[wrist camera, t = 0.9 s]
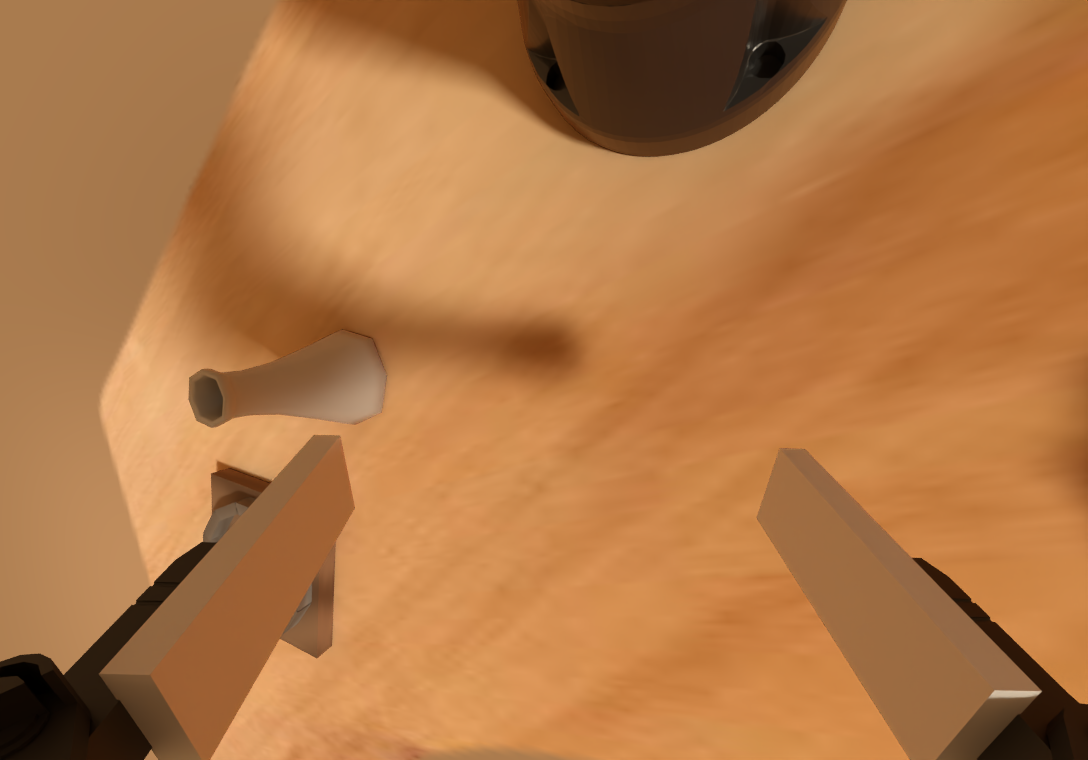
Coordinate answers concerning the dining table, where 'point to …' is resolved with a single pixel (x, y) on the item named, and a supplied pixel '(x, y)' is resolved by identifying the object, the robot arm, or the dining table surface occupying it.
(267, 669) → the dining table surface
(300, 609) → the walnut seat board
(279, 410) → the flask
